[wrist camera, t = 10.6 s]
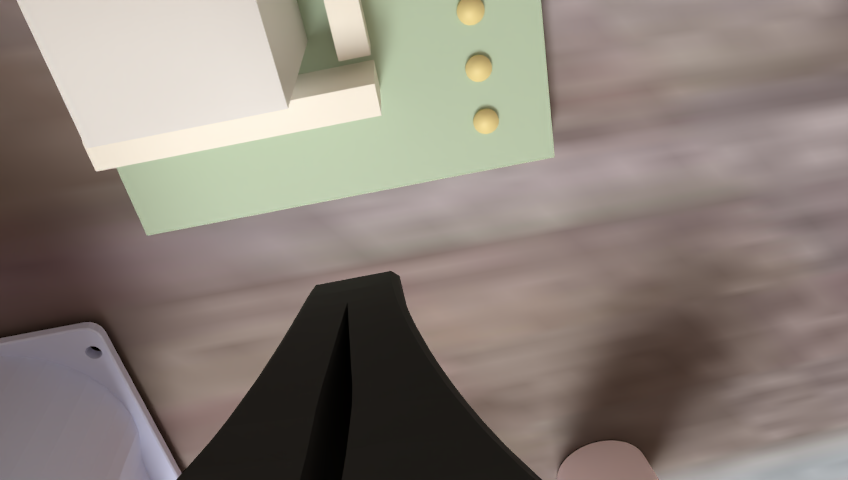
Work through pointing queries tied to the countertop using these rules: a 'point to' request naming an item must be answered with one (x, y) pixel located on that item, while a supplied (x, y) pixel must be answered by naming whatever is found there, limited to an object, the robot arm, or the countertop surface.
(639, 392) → the countertop surface
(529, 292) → the countertop surface
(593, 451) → the smoothie
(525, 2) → the board
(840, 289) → the countertop surface
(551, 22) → the countertop surface
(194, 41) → the white block
